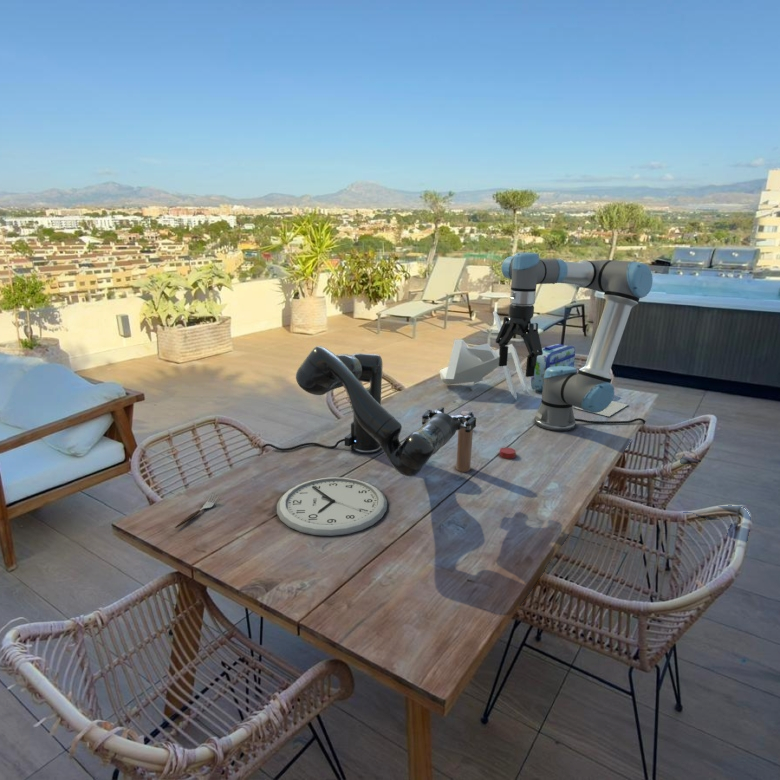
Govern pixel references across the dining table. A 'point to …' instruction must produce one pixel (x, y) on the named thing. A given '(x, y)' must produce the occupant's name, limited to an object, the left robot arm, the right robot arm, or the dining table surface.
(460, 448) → the wooden cylinder
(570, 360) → the lunch box
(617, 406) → the invitation card
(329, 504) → the wall clock
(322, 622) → the dining table surface
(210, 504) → the fork
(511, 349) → the white plastic object
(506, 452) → the lid
